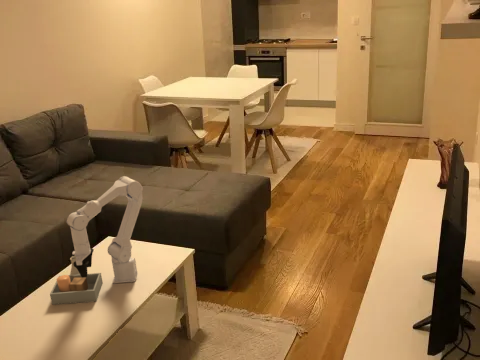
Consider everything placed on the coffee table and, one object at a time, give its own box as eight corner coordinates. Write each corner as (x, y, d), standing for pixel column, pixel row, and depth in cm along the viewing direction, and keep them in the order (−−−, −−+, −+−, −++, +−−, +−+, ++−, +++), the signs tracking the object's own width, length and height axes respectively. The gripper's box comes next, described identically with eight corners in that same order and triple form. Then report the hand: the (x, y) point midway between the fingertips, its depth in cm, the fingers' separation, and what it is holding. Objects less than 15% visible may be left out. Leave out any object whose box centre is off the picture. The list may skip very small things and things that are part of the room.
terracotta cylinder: (64, 289, 215) (60, 274, 213) (75, 289, 214) (71, 275, 212) (57, 296, 211) (54, 281, 208) (69, 296, 210) (65, 281, 207)
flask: (81, 283, 220) (77, 262, 217) (66, 282, 222) (61, 261, 218) (89, 274, 227) (85, 253, 223) (74, 273, 228) (70, 253, 225)
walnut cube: (88, 288, 215) (76, 288, 216) (86, 277, 213) (74, 277, 214) (83, 294, 211) (71, 294, 211) (81, 284, 209) (69, 284, 209)
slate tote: (102, 283, 219) (100, 272, 217) (96, 301, 207) (94, 290, 205) (61, 286, 219) (58, 276, 217) (52, 304, 206) (49, 294, 204)
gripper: (75, 234, 211) (80, 263, 216) (65, 251, 197) (72, 282, 202) (92, 232, 211) (97, 261, 216) (84, 250, 198) (90, 280, 203)
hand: (86, 271), depth 209 cm, fingers open, 7 cm apart
